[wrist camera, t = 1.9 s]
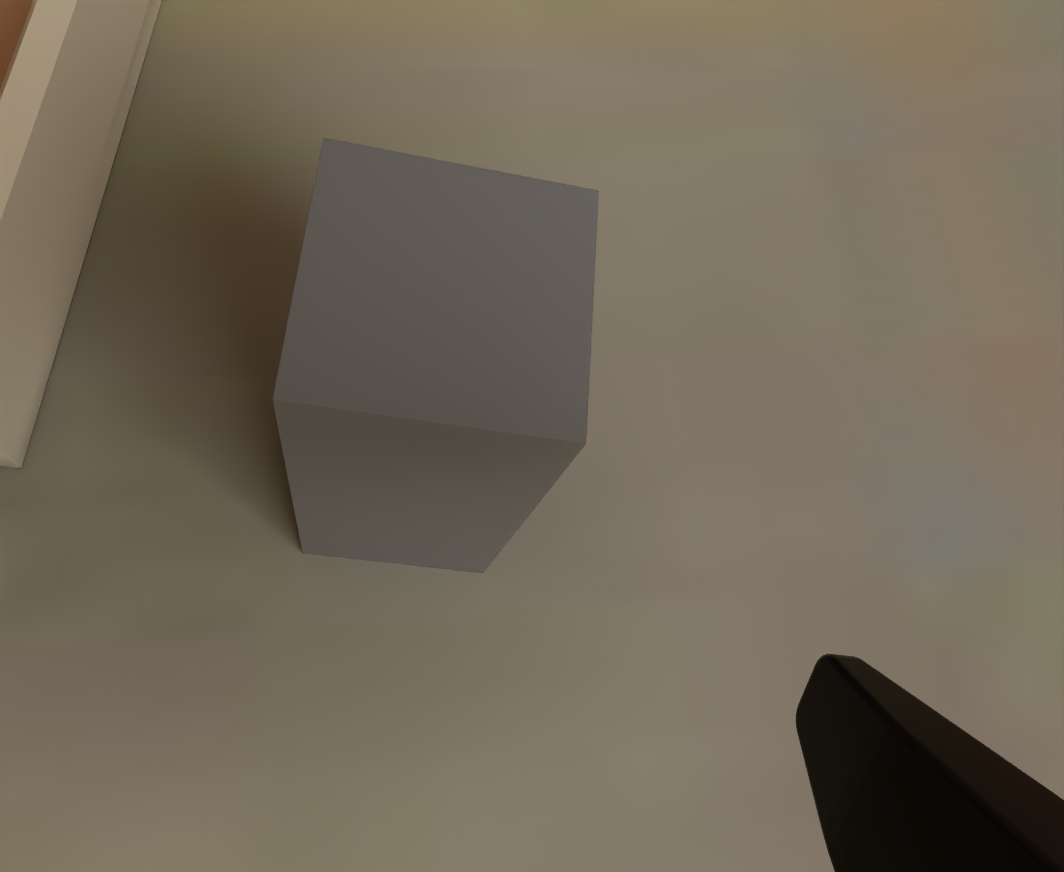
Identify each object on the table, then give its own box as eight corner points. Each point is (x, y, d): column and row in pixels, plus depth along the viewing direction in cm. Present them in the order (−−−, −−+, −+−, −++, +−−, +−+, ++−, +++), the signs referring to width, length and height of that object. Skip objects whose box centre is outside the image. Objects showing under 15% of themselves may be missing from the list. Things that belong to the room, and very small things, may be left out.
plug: (482, 572, 22) (586, 443, 13) (302, 552, 21) (272, 399, 12) (497, 410, 23) (598, 190, 14) (330, 386, 23) (322, 138, 13)
